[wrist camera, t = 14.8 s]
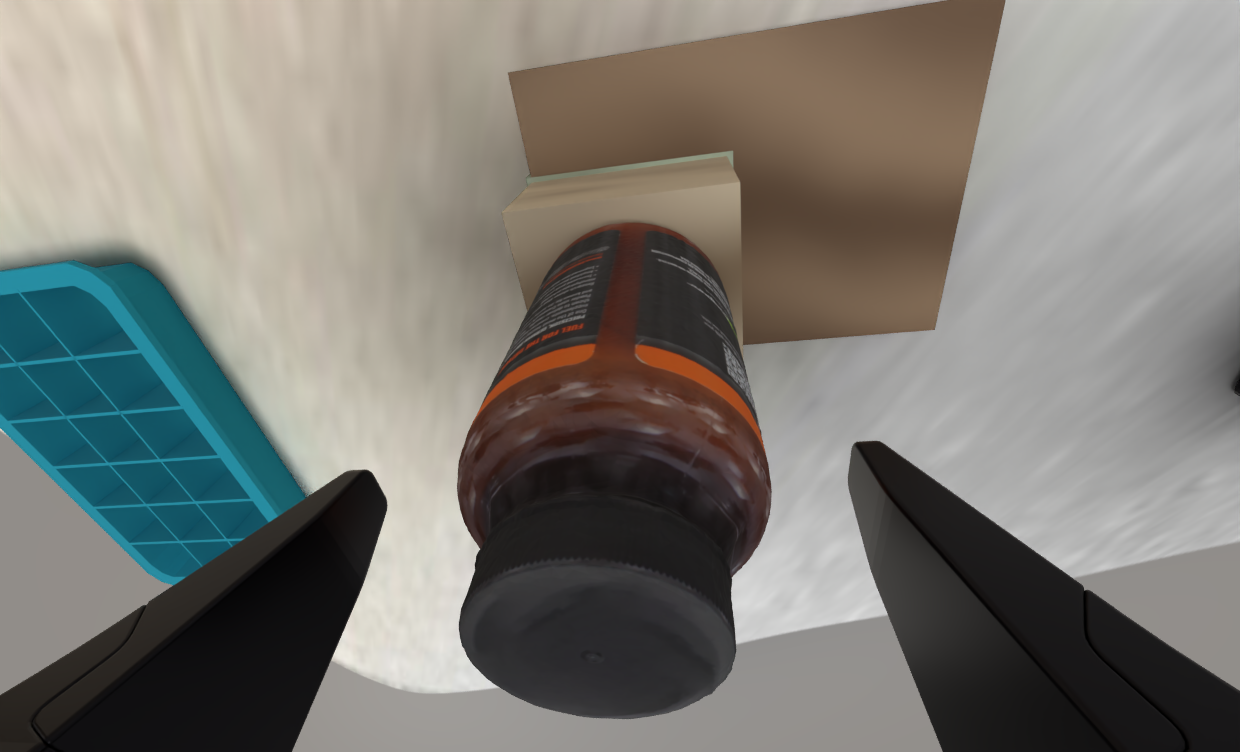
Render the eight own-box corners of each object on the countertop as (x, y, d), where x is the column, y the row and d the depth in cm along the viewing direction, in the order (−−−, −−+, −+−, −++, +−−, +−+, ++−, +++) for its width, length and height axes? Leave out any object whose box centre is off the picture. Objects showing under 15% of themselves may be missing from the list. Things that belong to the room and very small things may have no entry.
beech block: (731, 334, 21) (743, 388, 18) (569, 348, 22) (551, 402, 19) (726, 155, 18) (740, 181, 14) (531, 182, 19) (501, 212, 15)
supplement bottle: (518, 340, 18) (344, 684, 8) (587, 179, 14) (433, 429, 5) (670, 408, 19) (672, 782, 9) (765, 271, 16) (915, 622, 6)
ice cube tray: (155, 235, 22) (89, 259, 20) (352, 541, 33) (326, 582, 30) (-54, 266, 24) (-139, 291, 21) (197, 547, 35) (161, 586, 32)
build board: (926, 320, 21) (935, 329, 20) (569, 349, 23) (566, 359, 23) (992, -7, 15) (1007, -10, 15) (508, 72, 17) (502, 74, 17)
